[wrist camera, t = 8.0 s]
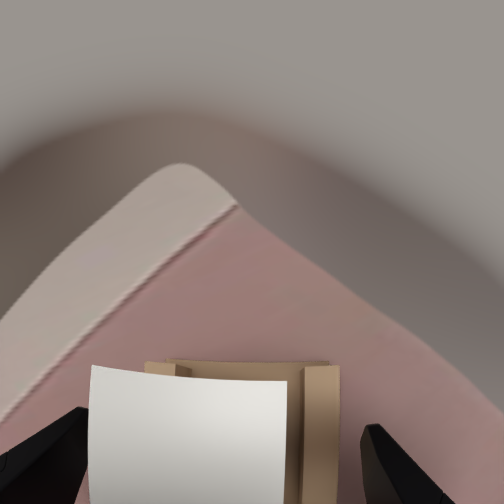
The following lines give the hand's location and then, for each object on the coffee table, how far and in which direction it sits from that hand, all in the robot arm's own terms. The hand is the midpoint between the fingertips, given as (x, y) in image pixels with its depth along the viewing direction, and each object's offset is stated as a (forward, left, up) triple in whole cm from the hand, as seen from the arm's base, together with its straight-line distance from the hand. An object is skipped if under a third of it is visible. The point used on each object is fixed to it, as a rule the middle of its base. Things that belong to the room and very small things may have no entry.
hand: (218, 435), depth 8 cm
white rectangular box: (-1, +1, -8) cm, 8 cm away
